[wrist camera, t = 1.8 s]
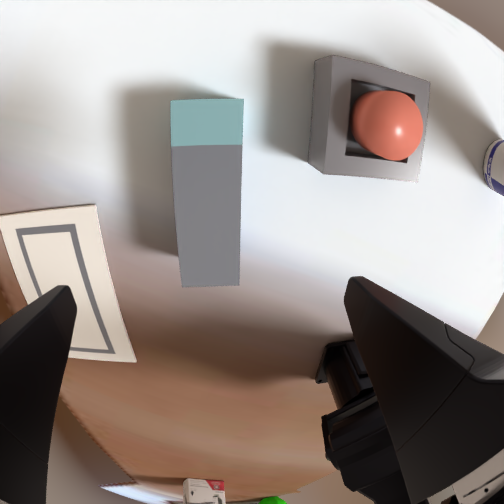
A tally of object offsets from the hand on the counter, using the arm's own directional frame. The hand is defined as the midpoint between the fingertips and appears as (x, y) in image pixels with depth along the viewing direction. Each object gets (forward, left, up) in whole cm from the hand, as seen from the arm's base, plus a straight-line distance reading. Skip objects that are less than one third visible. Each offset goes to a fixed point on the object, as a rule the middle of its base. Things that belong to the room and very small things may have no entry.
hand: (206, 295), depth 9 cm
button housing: (+5, -10, -12) cm, 16 cm away
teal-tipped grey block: (0, 0, -12) cm, 12 cm away
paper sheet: (-9, +13, -12) cm, 20 cm away
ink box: (-64, +6, -12) cm, 65 cm away
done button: (+5, -10, -9) cm, 14 cm away
